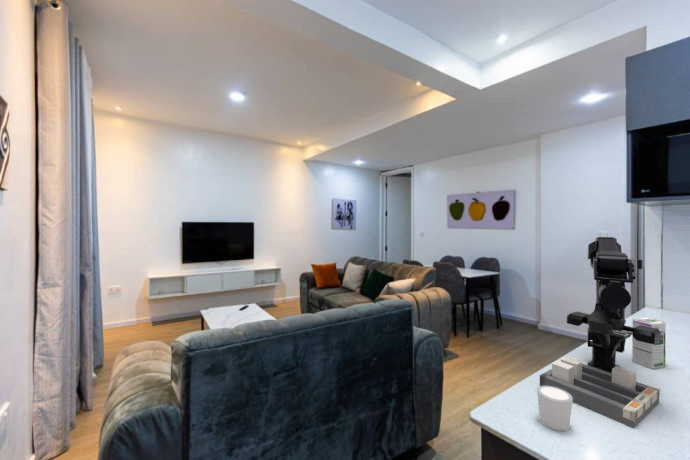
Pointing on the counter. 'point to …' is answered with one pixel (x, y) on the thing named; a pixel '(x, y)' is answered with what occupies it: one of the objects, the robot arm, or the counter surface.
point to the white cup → (554, 407)
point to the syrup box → (649, 345)
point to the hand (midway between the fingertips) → (609, 357)
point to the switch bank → (607, 395)
